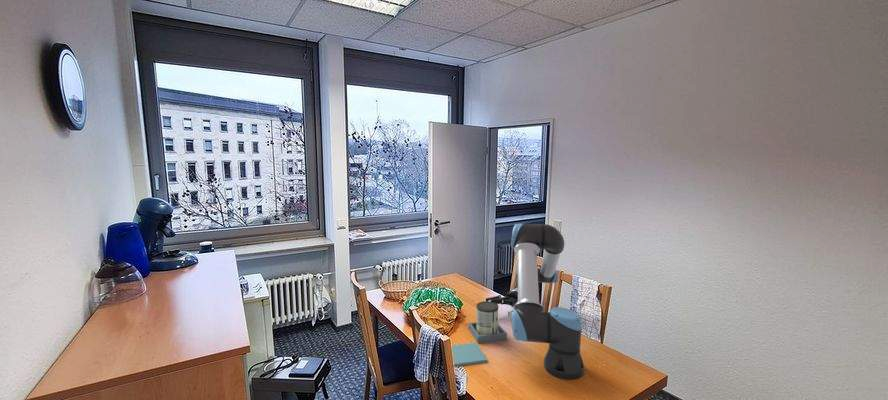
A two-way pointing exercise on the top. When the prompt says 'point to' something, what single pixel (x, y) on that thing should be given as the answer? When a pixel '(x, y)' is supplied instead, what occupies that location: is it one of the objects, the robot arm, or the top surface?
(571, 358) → the robot arm
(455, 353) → the board
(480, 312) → the coffee can
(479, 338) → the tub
